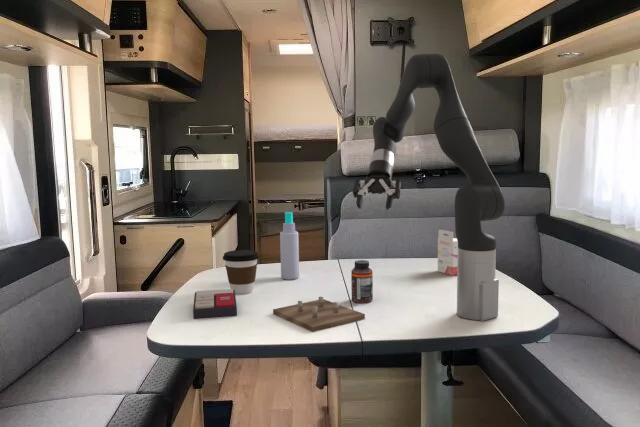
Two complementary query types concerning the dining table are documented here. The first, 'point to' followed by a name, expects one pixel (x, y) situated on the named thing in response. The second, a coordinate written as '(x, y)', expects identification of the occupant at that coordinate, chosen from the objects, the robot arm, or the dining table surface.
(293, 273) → the spray bottle
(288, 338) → the dining table surface
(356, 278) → the supplement bottle
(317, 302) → the pin tray
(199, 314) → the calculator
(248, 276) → the coffee cup
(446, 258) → the ink cartridge box
